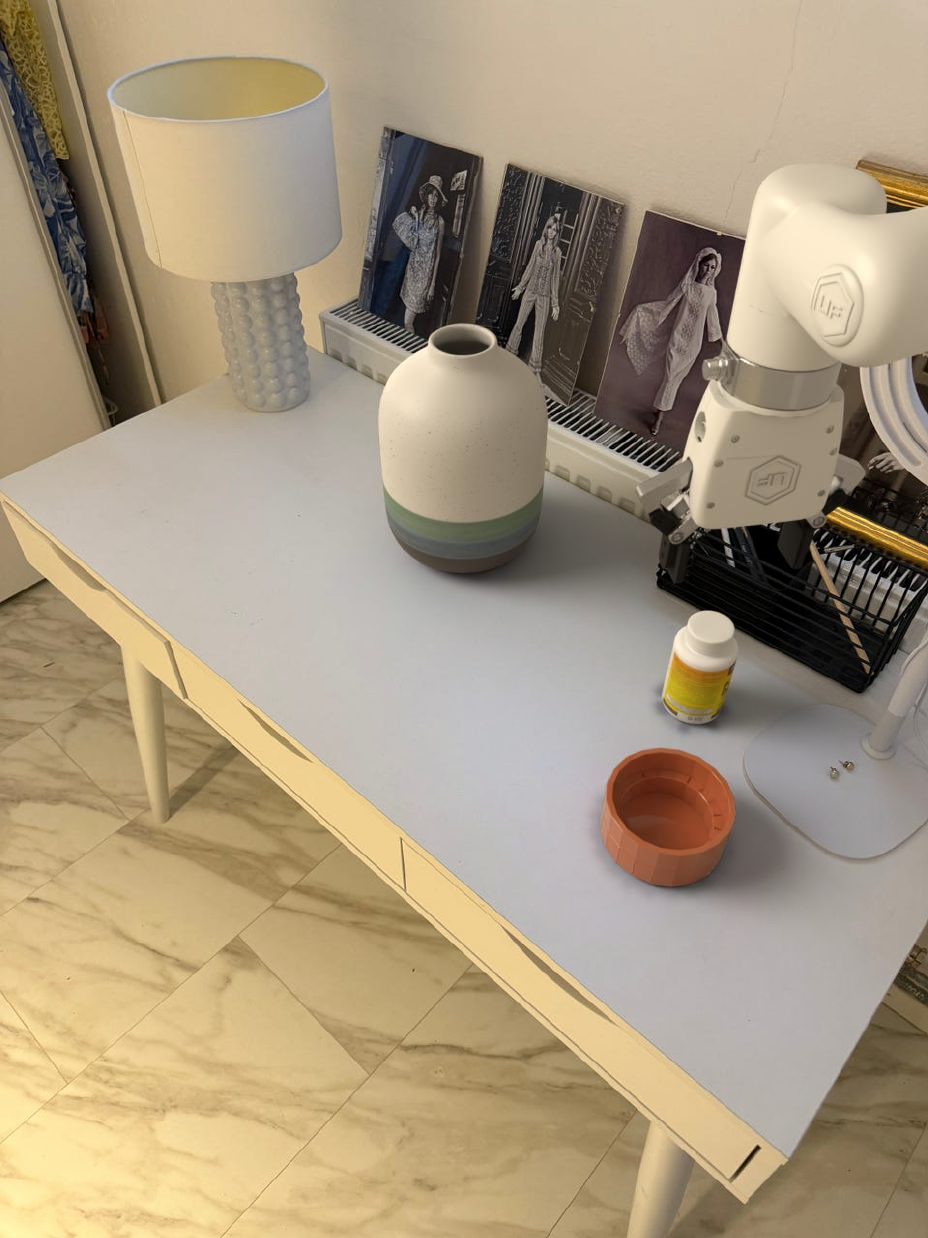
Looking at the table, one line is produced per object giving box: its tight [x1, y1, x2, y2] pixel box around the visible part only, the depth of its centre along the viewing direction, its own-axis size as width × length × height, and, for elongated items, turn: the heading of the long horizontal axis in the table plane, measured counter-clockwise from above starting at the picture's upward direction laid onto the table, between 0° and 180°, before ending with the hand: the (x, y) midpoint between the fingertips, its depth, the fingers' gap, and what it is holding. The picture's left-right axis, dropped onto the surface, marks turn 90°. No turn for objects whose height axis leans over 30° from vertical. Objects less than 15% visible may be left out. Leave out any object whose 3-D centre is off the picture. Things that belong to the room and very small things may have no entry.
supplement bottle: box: [661, 610, 739, 725], centre depth 83 cm, size 6×6×10 cm
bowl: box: [599, 747, 737, 888], centre depth 75 cm, size 10×10×5 cm
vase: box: [377, 323, 549, 574], centre depth 95 cm, size 17×17×24 cm
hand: (730, 564), depth 74 cm, fingers open, 9 cm apart
